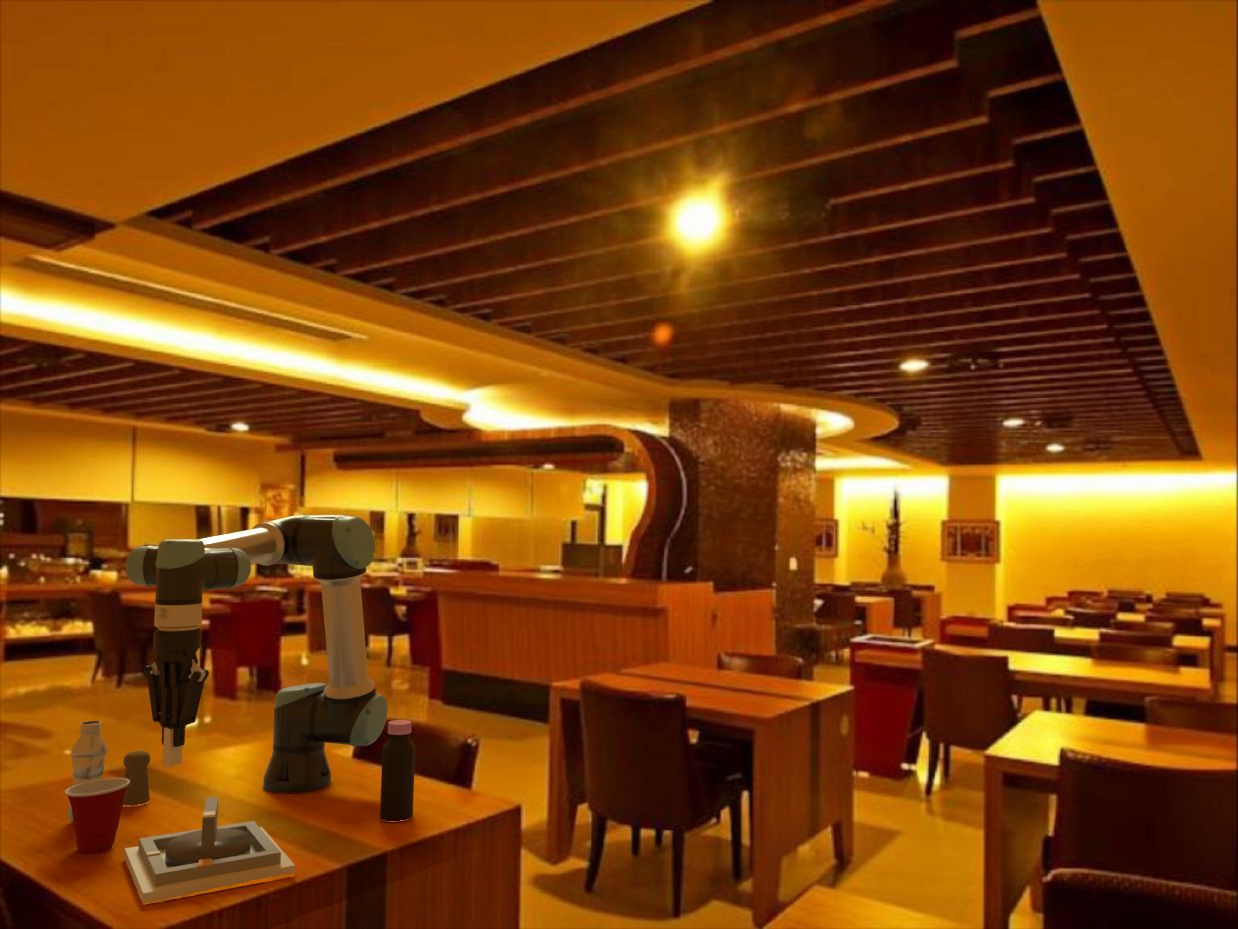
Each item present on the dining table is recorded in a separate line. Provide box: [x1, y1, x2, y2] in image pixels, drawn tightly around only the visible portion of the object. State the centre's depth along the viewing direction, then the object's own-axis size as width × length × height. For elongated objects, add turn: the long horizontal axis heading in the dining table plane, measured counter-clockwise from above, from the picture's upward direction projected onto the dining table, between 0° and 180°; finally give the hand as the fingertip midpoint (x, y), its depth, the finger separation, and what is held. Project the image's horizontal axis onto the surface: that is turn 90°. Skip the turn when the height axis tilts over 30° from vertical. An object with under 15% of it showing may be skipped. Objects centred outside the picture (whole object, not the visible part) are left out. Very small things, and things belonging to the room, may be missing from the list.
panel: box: [123, 820, 296, 903], centre depth 166 cm, size 24×24×4 cm
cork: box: [123, 750, 151, 806], centre depth 203 cm, size 6×6×11 cm
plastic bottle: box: [67, 720, 108, 823], centre depth 190 cm, size 6×7×20 cm
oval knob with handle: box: [165, 797, 251, 867], centre depth 167 cm, size 14×14×9 cm
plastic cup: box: [64, 777, 130, 855], centre depth 175 cm, size 11×11×12 cm
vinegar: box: [379, 719, 416, 822], centre depth 197 cm, size 7×7×20 cm
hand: (172, 764), depth 161 cm, fingers closed
